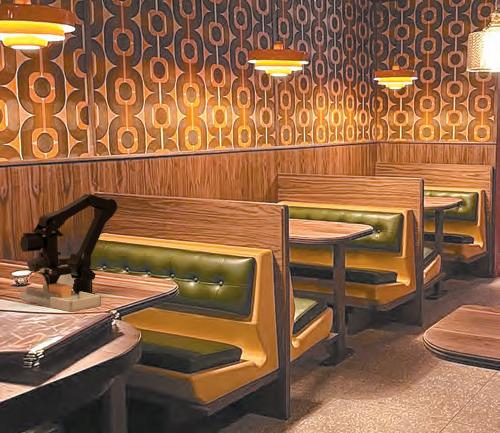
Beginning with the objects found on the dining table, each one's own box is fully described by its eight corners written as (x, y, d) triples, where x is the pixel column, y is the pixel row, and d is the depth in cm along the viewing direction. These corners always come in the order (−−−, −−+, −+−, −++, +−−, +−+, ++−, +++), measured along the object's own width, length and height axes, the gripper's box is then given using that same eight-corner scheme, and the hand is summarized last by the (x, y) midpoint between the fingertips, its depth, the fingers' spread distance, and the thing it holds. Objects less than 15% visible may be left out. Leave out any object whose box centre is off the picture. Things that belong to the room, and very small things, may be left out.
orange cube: (65, 294, 255) (64, 284, 255) (71, 296, 253) (71, 285, 252) (55, 296, 252) (55, 285, 252) (61, 298, 250) (61, 287, 249)
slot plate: (50, 294, 269) (50, 283, 269) (80, 300, 257) (80, 290, 257) (20, 299, 260) (20, 288, 259) (50, 306, 247) (49, 295, 247)
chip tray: (81, 300, 257) (80, 291, 257) (101, 305, 249) (101, 295, 249) (50, 306, 247) (50, 297, 247) (70, 311, 239) (70, 301, 239)
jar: (60, 289, 278) (59, 259, 277) (48, 286, 283) (47, 257, 282) (79, 286, 285) (78, 256, 284) (67, 283, 290) (66, 255, 289)
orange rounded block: (58, 293, 258) (58, 282, 257) (64, 295, 255) (64, 284, 255) (49, 295, 255) (48, 284, 254) (55, 296, 252) (54, 285, 252)
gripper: (16, 249, 256) (17, 291, 258) (44, 254, 244) (45, 298, 245) (43, 245, 264) (44, 286, 266) (72, 250, 252) (72, 293, 254)
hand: (50, 291), depth 258 cm, fingers closed
